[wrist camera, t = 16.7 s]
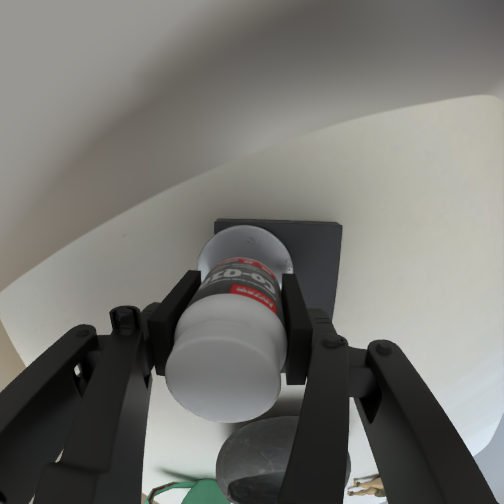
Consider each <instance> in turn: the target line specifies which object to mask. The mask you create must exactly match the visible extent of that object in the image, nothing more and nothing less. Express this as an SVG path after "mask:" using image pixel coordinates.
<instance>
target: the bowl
mask: <svg viewBox="0 0 504 504" xmlns="http://www.w3.org/2000/svg"><path fill="white" fill-rule="evenodd" d="M299 417H300V416H279V417H272V418H267V419H262V420H259V421H255V422H252V423H250V424H247V425H245V426H243V427H241V428H240V429H238V430H236V431H235V432H234V433H233V434H232V435H230V436H229V437H228V438H227V440H226V441H225V442H224V444H223V445H222V447H221V449H220V452H219V454H218V458H217V462H216V479H217V483H218V486H219V488H220V490H221V492H222V494H223V495H224V497H225V498H226V499H227V500H228V501H229V502H231V503H233V504H276V501H277V498H278V495H279V492H280V488H281V485H282V482H283V478H284V475H285V471H286V468H287V464H288V461H289V457H290V453H291V449H292V445H293V442H294V438H295V433H296V429H297V425H298V421H299ZM350 472H351V461H350V456H349V452H348V455H347V468H346V479H345V487H346V485H347V482H348V480H349V476H350Z"/></svg>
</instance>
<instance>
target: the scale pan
mask: <svg viewBox="0 0 504 504" xmlns="http://www.w3.org/2000/svg"><path fill="white" fill-rule="evenodd" d="M237 257H243V258H249V259H253V260H256V261H258V262H261V263H262V264H264V265H265V266H267V267H268V268H269V269H270V270H271V271H272V272H273V274H274V275H275V276H276V278H277V280H278V282H279V285H280V289H281V286H282V273H289V274H293V265H292V260H291V257H290V255H289V252H288V251H287V249H286V247H285V246H284V244H283V243H282V242H281V241H280V240H279V239H278V238H277V237H276V236H275V235H274V234H272V233H271V232H269V231H267V230H265V229H263V228H260V227H256V226H251V225H238V226H233V227H229V228H226V229H224V230H222V231H220V232H218V233H217V234H216V235H214V236H213V237H212V238H211V239H210V240H209V241H208V242H207V243H206V245H205V246H204V248H203V249H202V251H201V253H200V256H199V259H198V263H197V271H201V281H202V282H203V280H204V279H205V277H206V275H207V274H208V273H209V272H210V270H211V269H212V268H213V267H215V266H216V265H217V264H219V263H221V262H222V261H225V260H227V259H231V258H237Z"/></svg>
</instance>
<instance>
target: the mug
mask: <svg viewBox="0 0 504 504" xmlns="http://www.w3.org/2000/svg"><path fill="white" fill-rule="evenodd" d="M172 488H191V490H190V491H189V492H188V494H187V495H186V496H185V498H184V499H183V501H182V503H181V504H231V502H229V501H228V500H227V499H226V498H225V497H224V495H223V494H222V492H221V490H220V488H219V486H218V483H217V481H216V480H211V479H201V480H199V481H197V482H171V483H168V484H166V485H163V486H160V487H157V488H153V489H152V491H151V492H150V494H149V496H148V497H147V499H146V501H145V502H144V503H145V504H153V503H152V502H153V499H154V496H156V495H158V494H160V493H162V492H164V491H167V490H169V489H172Z"/></svg>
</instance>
